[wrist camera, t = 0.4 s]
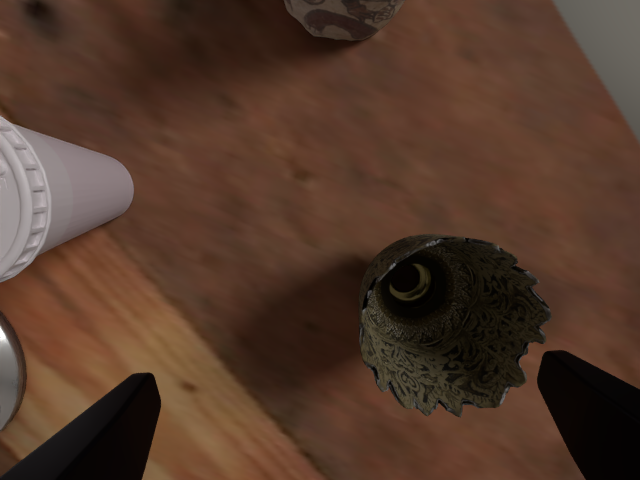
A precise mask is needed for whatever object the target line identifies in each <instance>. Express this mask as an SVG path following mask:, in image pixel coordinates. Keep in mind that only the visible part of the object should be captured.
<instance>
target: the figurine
mask: <svg viewBox="0 0 640 480" xmlns="http://www.w3.org/2000/svg"><path fill="white" fill-rule="evenodd" d="M404 1H405V0H284V3H285V6H286V9H287V11H288V12H289V13H290V15H292V16H293V17H294V18H296V19H297V20H298V21H299V22H300V23H301V24H302V25H303V26H304V28H305V29H306V30H307V31H308V32H309V33H311V34H312V35H313V36H318V37H327V38H332V39H335V40H340V39H343V40H349V41H354V40H364V39H366V38H368V37H370V36H372V35H374V34H375V33H376V32H378V31H379V30H380V29H381V28H383V27H384V26H385V25H386V24H387V23H388V22H389V21H390V20H391V19H392V18H393V17H394V16H395V14H396V13H397V12H398V11H399V10H400V8H401V6H402V4H403V3H404Z"/></svg>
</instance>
